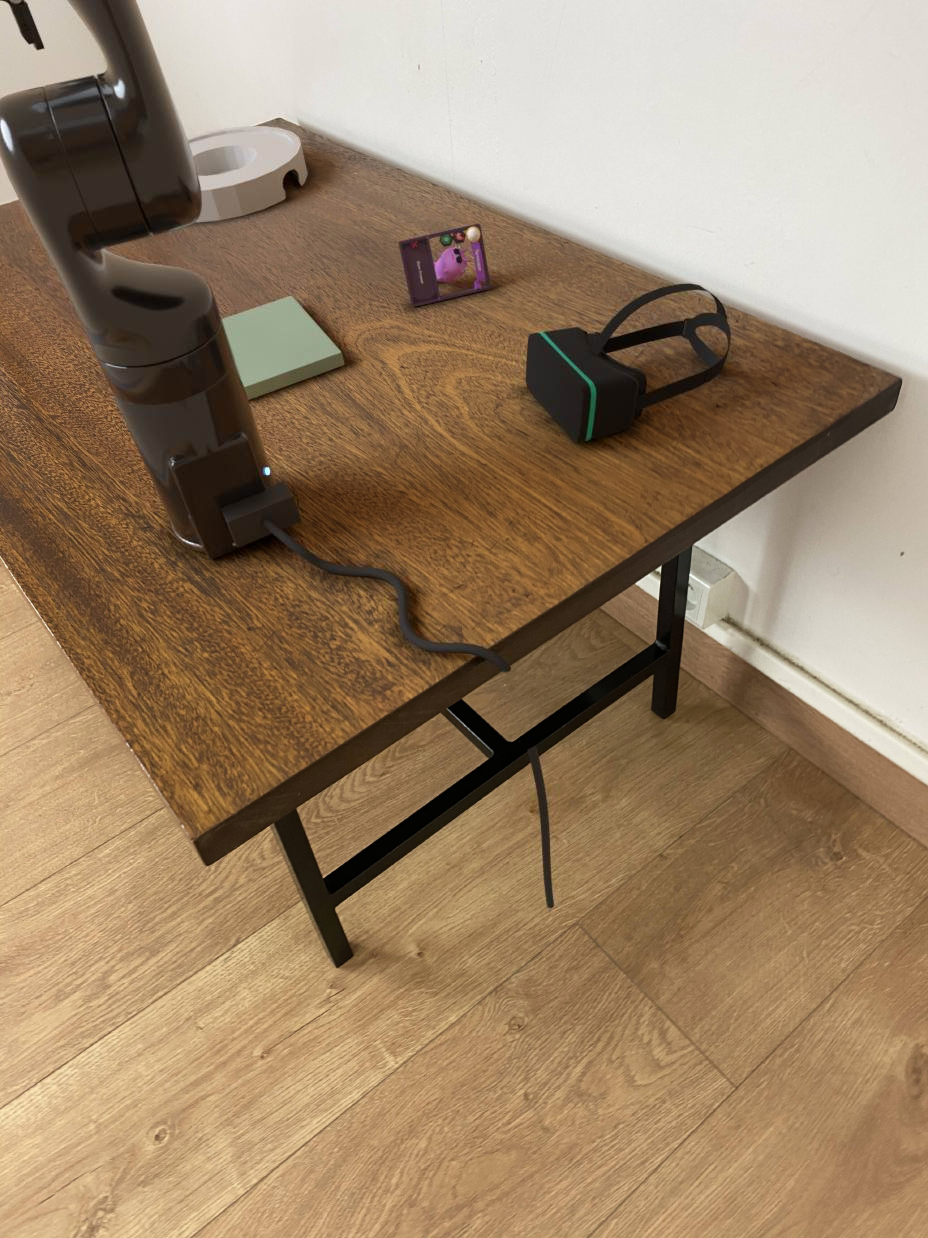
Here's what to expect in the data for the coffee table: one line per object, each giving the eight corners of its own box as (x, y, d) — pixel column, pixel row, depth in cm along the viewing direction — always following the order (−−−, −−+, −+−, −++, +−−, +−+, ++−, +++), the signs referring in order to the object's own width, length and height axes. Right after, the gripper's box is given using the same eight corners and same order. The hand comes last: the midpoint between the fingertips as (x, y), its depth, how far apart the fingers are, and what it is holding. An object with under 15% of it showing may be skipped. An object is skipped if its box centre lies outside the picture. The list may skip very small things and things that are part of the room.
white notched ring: (288, 142, 138) (281, 113, 135) (325, 194, 123) (318, 163, 120) (138, 179, 134) (128, 150, 132) (157, 237, 119) (146, 206, 116)
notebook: (344, 364, 92) (341, 351, 91) (243, 402, 89) (238, 389, 88) (294, 307, 102) (291, 294, 100) (201, 339, 99) (197, 326, 98)
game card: (399, 241, 95) (481, 223, 96) (392, 239, 99) (471, 221, 100) (413, 307, 98) (492, 289, 99) (406, 302, 102) (482, 284, 103)
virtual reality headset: (524, 386, 85) (530, 282, 78) (679, 354, 89) (698, 253, 82) (578, 447, 78) (590, 339, 71) (744, 410, 82) (770, 304, 75)
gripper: (-83, -173, 70) (15, 64, 81) (97, -206, 73) (166, 25, 85) (-91, -176, 75) (3, 48, 86) (78, -207, 78) (146, 12, 90)
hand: (84, 36), depth 86 cm, fingers open, 8 cm apart
